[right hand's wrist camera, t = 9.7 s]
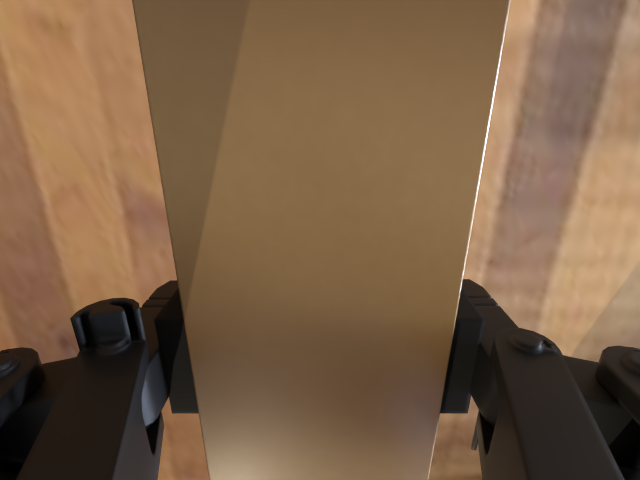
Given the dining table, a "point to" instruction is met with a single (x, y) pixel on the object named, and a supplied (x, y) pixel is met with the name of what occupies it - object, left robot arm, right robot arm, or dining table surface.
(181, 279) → the post
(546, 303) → the dining table surface
